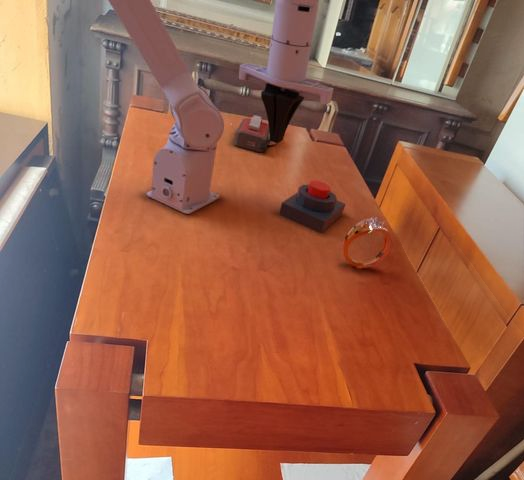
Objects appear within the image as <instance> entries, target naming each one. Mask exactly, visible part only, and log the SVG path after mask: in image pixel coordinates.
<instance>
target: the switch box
mask: <svg viewBox="0 0 524 480" xmlns="http://www.w3.org/2000/svg"><path fill="white" fill-rule="evenodd" d="M308 187H309V184H302V185H300V186H299V187H298V188H297V189H298V190H297V192H295V194H293V195H290V197H288V198H286V199H285V200H284V201H282V202H281V204H280V209H279V212H278V215H279V216H281V217H284V218H286V219H288V220H290V221H292V222H294V223H297V224H300V225H302V226H304V227H306V228H309V229H311V230H313V231H316V232H318V233H320V234H323V232H324V231H326V230H327V229H328V228H329V227H330V226H331V225H333V223H335V222H336V221H337V220H338V219H339V218H340V217H341V216H343V213H344V210H345V207H346V203H345V202H343V201H340V200H338V197H337V195H336V194H335V193H334V192H332V190H330V192H329V195H328V198H327V199H319V198H315V197H313V196H311V195H309V194H308V193H307V191H308Z"/></svg>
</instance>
